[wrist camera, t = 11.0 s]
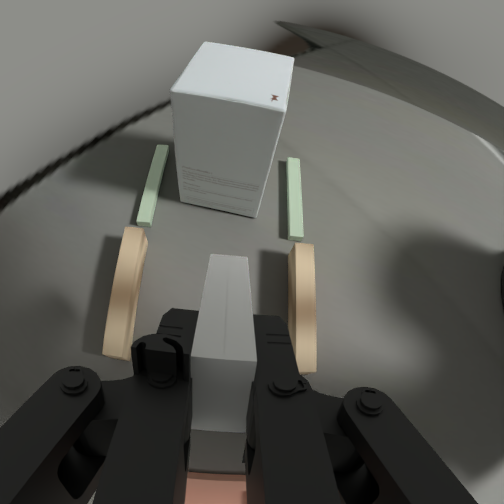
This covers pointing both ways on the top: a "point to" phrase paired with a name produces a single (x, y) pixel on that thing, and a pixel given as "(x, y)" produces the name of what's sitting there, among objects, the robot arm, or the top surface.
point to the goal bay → (156, 176)
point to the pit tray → (215, 489)
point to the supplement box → (228, 125)
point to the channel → (129, 286)
